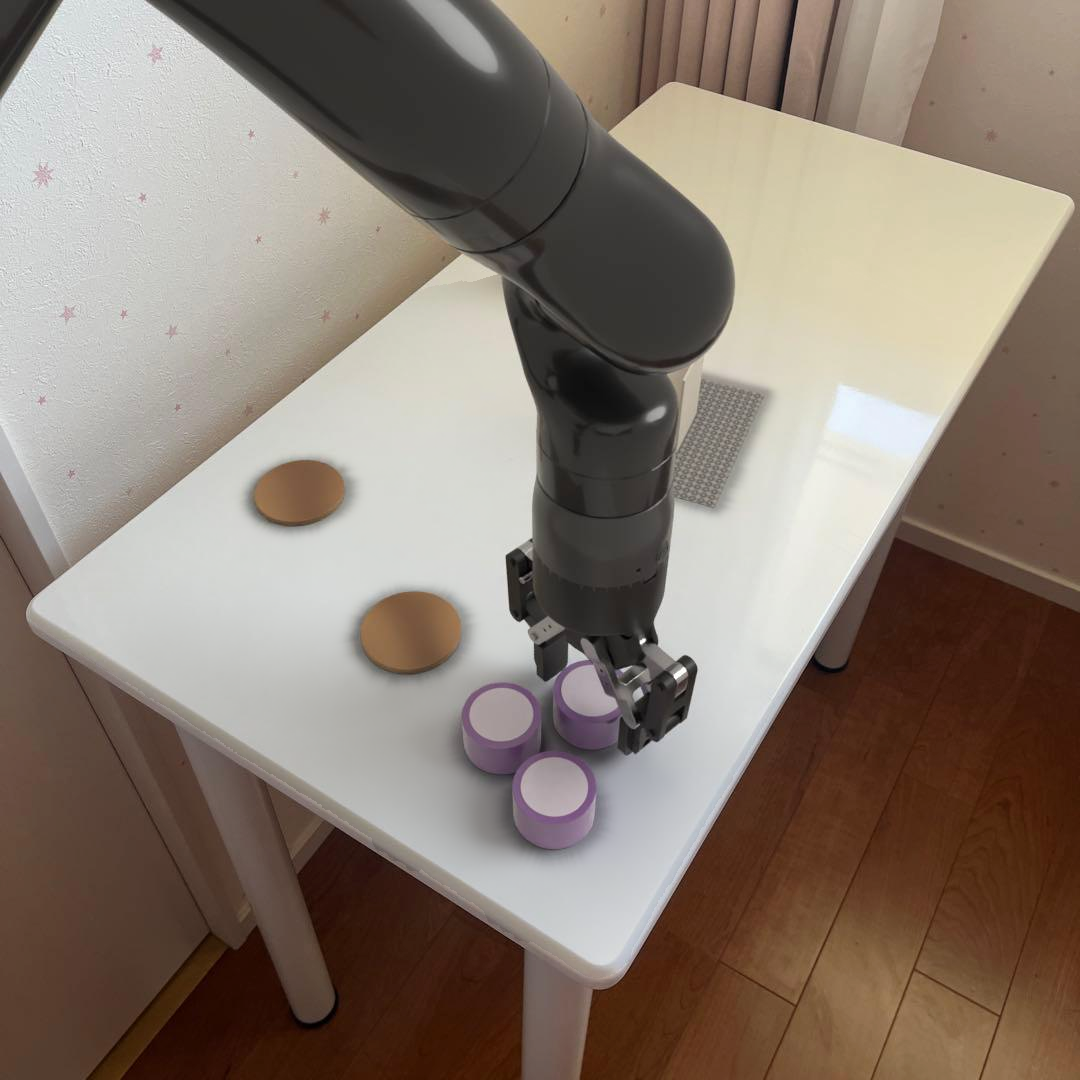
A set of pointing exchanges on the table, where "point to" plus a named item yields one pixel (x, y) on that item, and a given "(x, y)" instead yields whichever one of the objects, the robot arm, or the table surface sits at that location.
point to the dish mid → (501, 727)
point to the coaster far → (299, 492)
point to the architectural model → (708, 432)
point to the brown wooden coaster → (410, 632)
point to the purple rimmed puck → (554, 799)
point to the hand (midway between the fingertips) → (591, 707)
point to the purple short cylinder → (584, 708)
